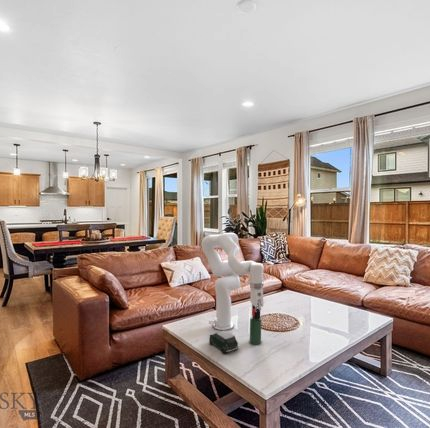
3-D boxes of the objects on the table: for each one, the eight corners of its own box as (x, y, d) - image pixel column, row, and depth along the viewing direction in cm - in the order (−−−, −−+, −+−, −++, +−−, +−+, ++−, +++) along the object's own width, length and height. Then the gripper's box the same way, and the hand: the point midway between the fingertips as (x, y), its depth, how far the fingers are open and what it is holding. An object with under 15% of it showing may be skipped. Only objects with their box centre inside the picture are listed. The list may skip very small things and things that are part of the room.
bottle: (251, 344, 165) (252, 313, 164) (248, 339, 171) (248, 309, 170) (262, 343, 167) (263, 312, 166) (258, 338, 173) (259, 308, 172)
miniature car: (220, 338, 173) (220, 324, 173) (240, 350, 159) (240, 335, 159) (207, 342, 167) (207, 328, 167) (226, 355, 153) (226, 340, 153)
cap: (260, 316, 167) (260, 310, 166) (253, 317, 165) (253, 311, 165) (258, 314, 171) (258, 307, 170) (251, 314, 169) (251, 308, 169)
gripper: (268, 289, 160) (267, 322, 161) (257, 280, 176) (257, 311, 177) (255, 289, 158) (254, 323, 159) (245, 281, 174) (245, 312, 175)
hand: (256, 316), depth 168 cm, fingers closed on cap, 3 cm apart
